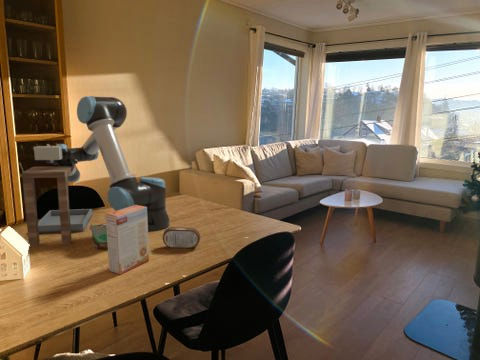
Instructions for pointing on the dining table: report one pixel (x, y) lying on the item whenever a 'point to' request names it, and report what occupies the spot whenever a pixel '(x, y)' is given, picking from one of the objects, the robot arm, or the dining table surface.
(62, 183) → the shelf stand
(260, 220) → the dining table surface
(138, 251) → the cracker box
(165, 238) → the tin
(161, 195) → the robot arm
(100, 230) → the food container
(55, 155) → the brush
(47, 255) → the dining table surface
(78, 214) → the tray
